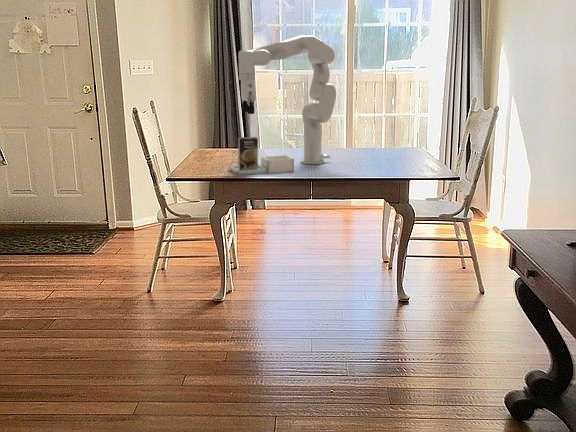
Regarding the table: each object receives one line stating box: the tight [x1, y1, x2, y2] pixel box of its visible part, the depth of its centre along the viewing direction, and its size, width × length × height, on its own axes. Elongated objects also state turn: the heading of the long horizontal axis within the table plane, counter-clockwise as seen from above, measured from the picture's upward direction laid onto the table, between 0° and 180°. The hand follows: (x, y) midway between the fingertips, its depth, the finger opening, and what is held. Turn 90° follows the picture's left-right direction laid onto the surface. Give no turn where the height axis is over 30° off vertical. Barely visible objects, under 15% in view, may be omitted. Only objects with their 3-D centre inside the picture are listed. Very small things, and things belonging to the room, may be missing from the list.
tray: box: [229, 163, 267, 176], centre depth 286 cm, size 15×14×2 cm
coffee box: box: [237, 136, 259, 171], centre depth 284 cm, size 9×6×16 cm
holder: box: [260, 154, 295, 173], centre depth 291 cm, size 14×12×6 cm
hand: (248, 112), depth 281 cm, fingers open, 9 cm apart
